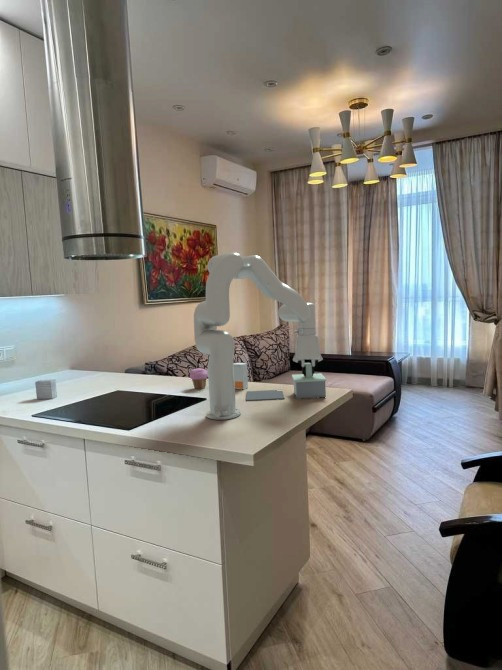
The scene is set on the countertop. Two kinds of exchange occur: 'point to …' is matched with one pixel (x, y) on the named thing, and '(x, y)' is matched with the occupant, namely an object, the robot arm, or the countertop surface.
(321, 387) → the tub
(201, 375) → the cupcake
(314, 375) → the lid
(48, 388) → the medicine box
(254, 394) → the mat
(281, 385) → the countertop surface
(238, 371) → the skincare box
